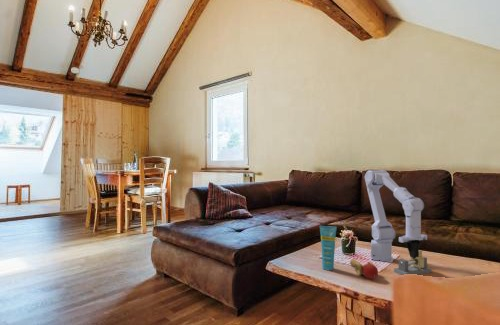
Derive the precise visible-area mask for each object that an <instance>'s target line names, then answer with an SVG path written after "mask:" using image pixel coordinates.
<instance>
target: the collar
mask: <svg viewBox="0 0 500 325" xmlns="http://www.w3.org/2000/svg"><path fill="white" fill-rule="evenodd" d="M424 257H425V256H423V251H422V250H420V249H419V250H418V253H417V257H416V258H412V257H410V260H412V259H418V263H415V264H410V265H413V266H415V267H418V268H424Z"/></svg>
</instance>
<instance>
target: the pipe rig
mask: <svg viewBox="0 0 500 325" xmlns="http://www.w3.org/2000/svg"><path fill="white" fill-rule="evenodd" d="M423 257H424V268H418V267H415V266H413V265H411V264H415V263H418V259H412V260H411V259H404V258H398V267H395V268H393V272H394V273H395V274H398V275H399V276H402V275H404V274H418V275H417V276H419V275H423V274H427V273H428V274H429V273H432V272H431V271H432V270H433V269H432V268H431V267H429V266H428V258H427V257H426V256H423Z"/></svg>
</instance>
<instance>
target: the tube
mask: <svg viewBox="0 0 500 325" xmlns="http://www.w3.org/2000/svg"><path fill="white" fill-rule="evenodd" d="M337 227H338V226H334V225H333V226H329V225H328V226H327V225H319V232H320V242H321V264H322V267H321V268H322V269H323V270H326V271H332V270H334V267H335V266H334V265H335V248H336V235H337Z"/></svg>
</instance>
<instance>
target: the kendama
mask: <svg viewBox="0 0 500 325" xmlns="http://www.w3.org/2000/svg"><path fill="white" fill-rule="evenodd" d="M349 264H350V265H351V267H354V270H355V273H356V274H357V276H364V277H365V278H366V279H368V280H374V279H376V278H377V277H378V274H379V270H378V268H377V266H376V265H374V264H373V262H372V261H367V263H366V264H362V263H361V262H359V261H357V260H355V259H350V261H349Z"/></svg>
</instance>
